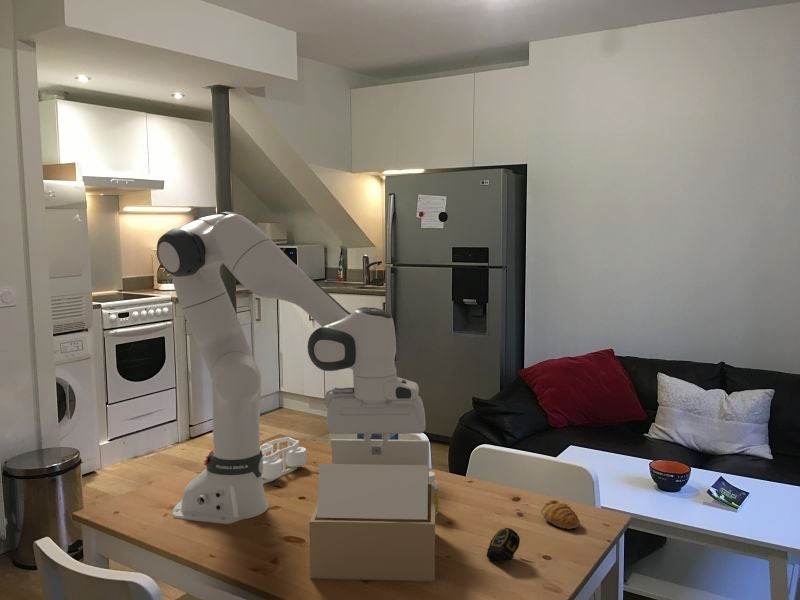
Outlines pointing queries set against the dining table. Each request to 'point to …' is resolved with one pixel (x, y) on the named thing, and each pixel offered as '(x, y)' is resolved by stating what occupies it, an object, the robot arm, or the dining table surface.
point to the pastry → (560, 515)
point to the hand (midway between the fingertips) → (376, 453)
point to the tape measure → (503, 545)
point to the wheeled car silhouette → (274, 465)
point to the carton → (374, 547)
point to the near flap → (373, 491)
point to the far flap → (393, 455)
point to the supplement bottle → (431, 479)
